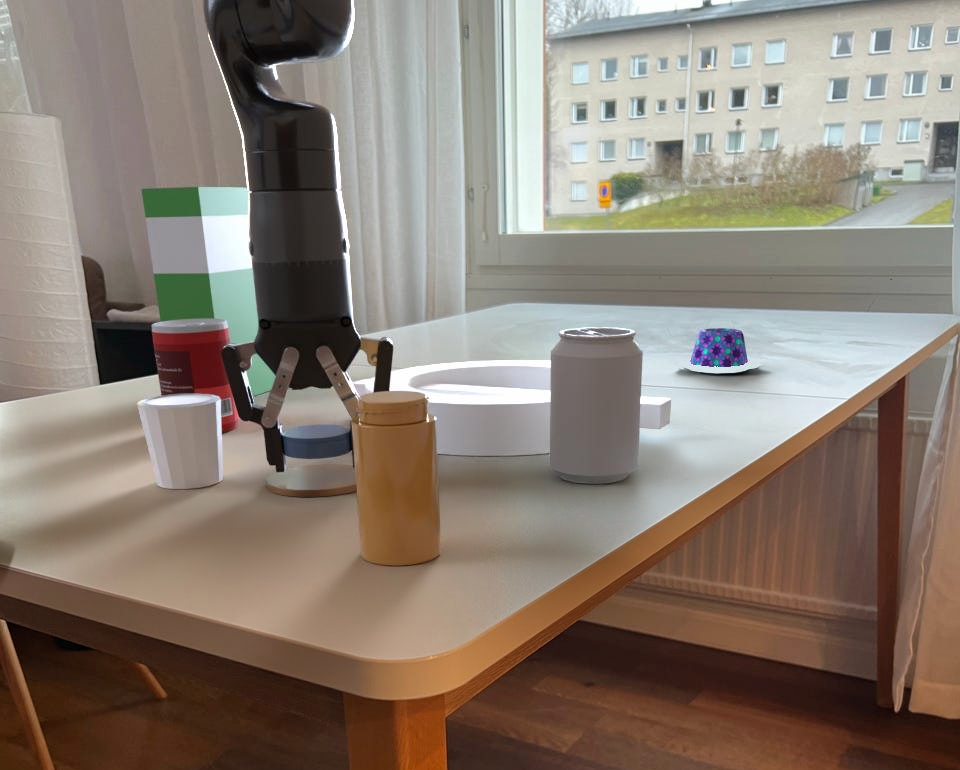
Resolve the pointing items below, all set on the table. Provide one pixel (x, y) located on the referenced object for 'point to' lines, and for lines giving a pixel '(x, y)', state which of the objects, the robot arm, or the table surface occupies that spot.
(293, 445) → the lid
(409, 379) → the white circle with bar
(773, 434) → the table surface
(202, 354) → the canned food
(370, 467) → the jar
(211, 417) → the white faceted cup
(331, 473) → the coaster
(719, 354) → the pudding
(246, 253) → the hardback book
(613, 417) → the can
